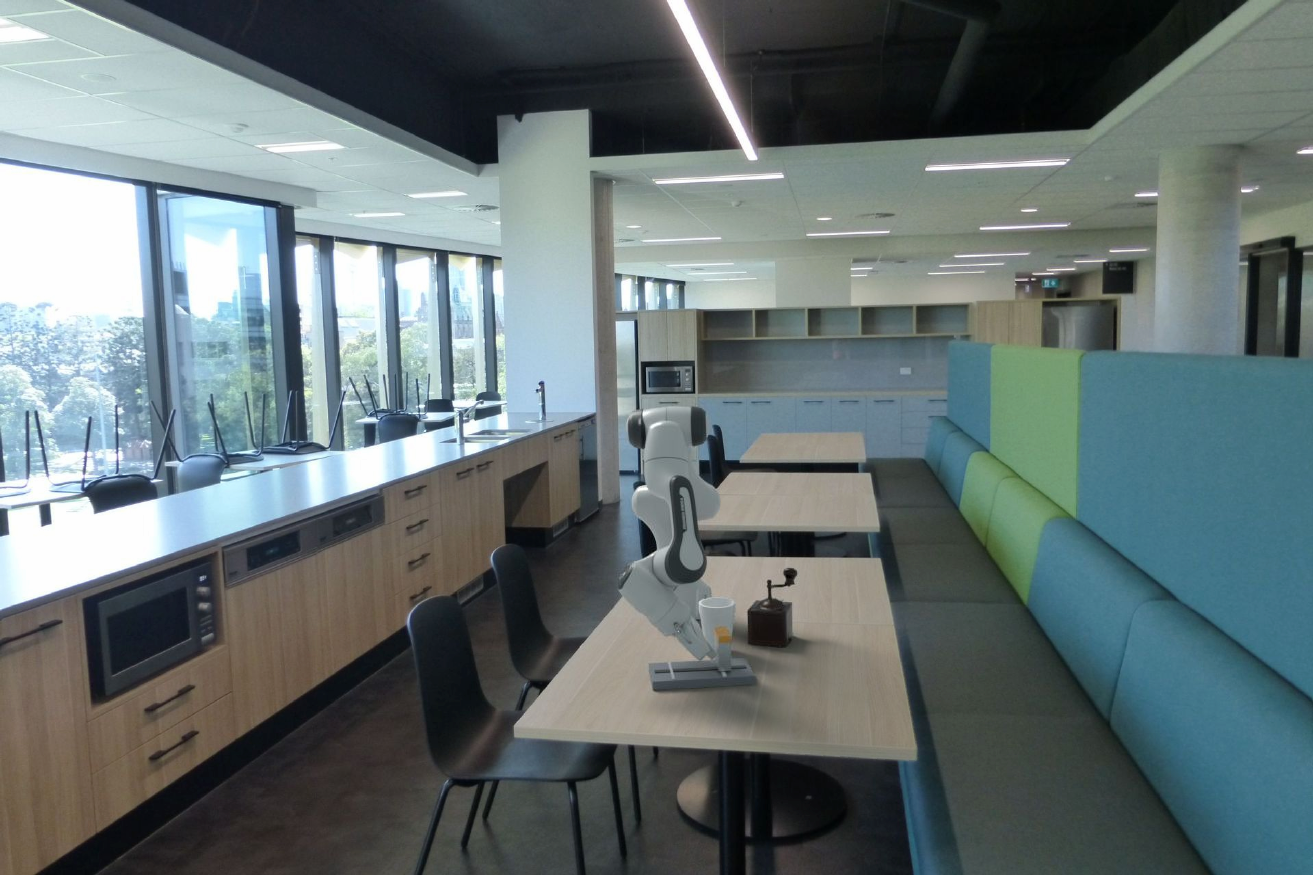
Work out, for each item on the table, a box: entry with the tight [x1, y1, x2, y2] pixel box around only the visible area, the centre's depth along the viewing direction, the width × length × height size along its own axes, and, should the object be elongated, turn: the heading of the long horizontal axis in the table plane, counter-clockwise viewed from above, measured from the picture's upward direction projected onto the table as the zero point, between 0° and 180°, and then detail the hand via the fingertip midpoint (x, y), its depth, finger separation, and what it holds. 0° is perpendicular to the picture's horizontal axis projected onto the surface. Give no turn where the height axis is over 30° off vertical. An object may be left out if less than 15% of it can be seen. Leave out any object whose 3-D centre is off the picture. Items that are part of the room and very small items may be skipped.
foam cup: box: [699, 596, 736, 649], centre depth 233 cm, size 10×9×13 cm
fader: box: [714, 627, 732, 671], centre depth 216 cm, size 3×7×9 cm, turn 5°
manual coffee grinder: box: [746, 567, 798, 649], centre depth 243 cm, size 16×11×18 cm
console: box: [648, 657, 756, 691], centre depth 216 cm, size 24×12×2 cm, turn 95°
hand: (714, 655), depth 216 cm, fingers closed, pressing on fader
